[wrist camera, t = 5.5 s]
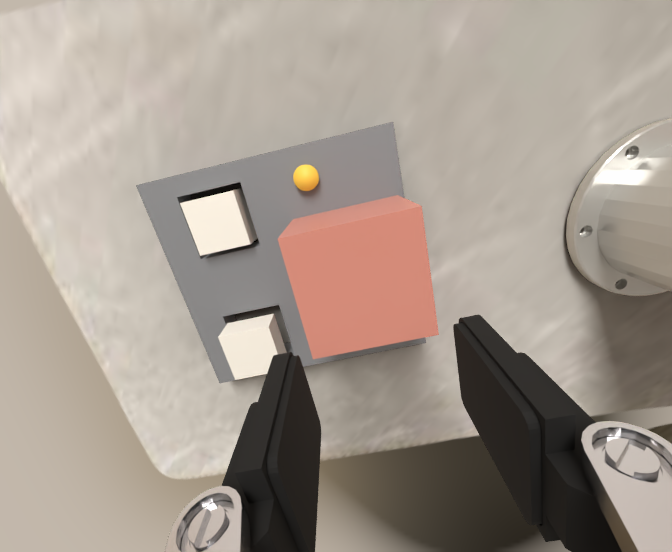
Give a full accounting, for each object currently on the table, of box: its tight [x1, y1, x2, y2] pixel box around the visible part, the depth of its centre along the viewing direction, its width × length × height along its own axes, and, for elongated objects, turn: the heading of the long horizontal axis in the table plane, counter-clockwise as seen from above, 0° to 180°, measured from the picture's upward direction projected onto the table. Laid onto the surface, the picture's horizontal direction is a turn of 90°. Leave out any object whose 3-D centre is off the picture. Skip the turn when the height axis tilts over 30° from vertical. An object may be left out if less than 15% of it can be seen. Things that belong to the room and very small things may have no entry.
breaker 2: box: [218, 314, 287, 380], centre depth 23 cm, size 4×4×2 cm
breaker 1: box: [180, 188, 257, 256], centre depth 22 cm, size 4×4×2 cm
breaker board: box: [136, 122, 426, 383], centre depth 23 cm, size 17×16×3 cm
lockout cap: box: [278, 195, 439, 359], centre depth 19 cm, size 7×7×6 cm
